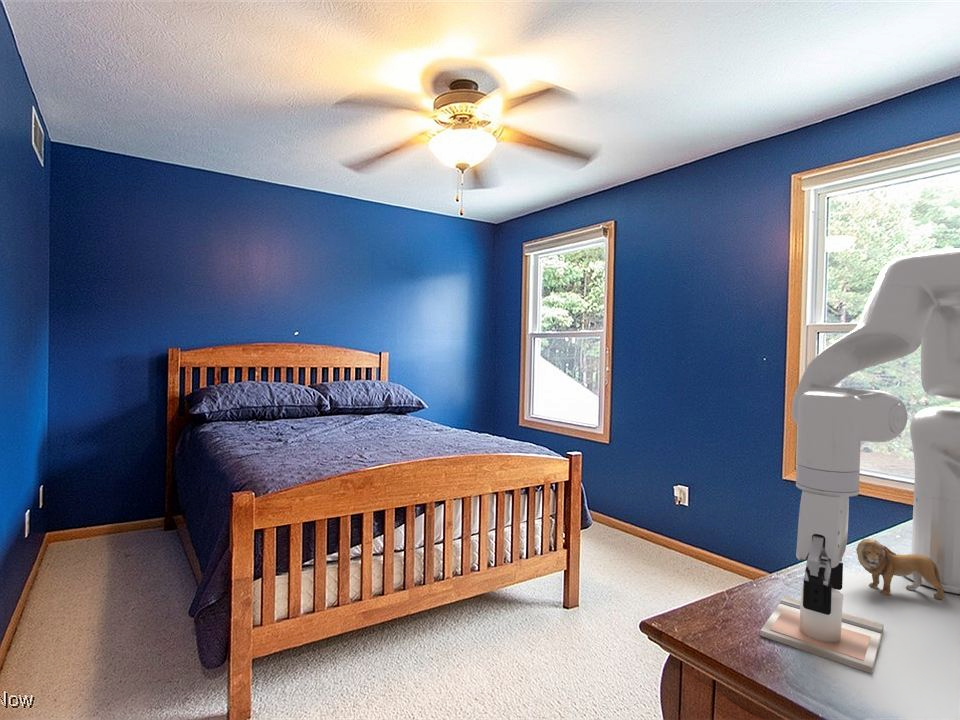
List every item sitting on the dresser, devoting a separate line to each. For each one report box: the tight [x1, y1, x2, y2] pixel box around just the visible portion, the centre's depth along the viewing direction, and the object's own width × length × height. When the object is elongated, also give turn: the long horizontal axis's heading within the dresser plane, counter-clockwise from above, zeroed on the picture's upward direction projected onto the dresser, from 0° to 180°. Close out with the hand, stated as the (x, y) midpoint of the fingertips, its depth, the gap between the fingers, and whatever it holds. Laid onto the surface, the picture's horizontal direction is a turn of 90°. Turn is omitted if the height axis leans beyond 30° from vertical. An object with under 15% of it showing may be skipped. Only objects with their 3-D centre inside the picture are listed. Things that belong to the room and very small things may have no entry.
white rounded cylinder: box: [799, 584, 844, 642], centre depth 77 cm, size 5×5×6 cm
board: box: [759, 595, 885, 674], centre depth 79 cm, size 15×13×1 cm
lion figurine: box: [855, 538, 946, 600], centre depth 93 cm, size 15×5×9 cm, turn 89°
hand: (823, 598), depth 77 cm, fingers open, 9 cm apart
